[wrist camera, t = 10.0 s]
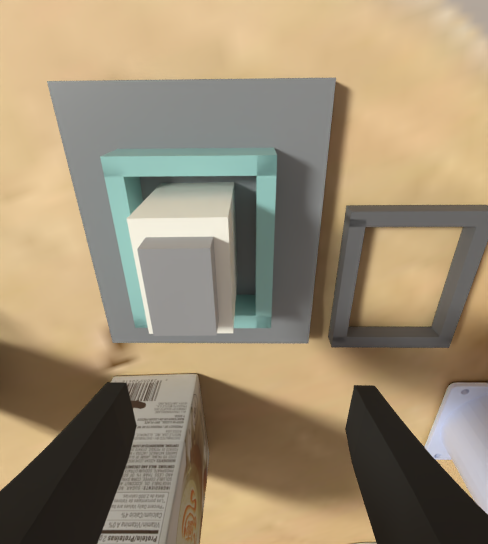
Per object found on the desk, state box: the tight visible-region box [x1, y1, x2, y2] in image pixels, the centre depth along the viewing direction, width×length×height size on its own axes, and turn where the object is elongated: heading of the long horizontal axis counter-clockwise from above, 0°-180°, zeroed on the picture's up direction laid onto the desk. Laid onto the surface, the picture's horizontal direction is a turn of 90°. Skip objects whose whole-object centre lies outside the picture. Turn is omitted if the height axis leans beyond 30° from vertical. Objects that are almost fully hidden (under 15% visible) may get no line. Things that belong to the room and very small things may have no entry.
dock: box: [47, 78, 336, 343], centre depth 17 cm, size 12×14×3 cm
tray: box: [328, 205, 488, 348], centre depth 19 cm, size 7×9×1 cm
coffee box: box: [97, 374, 209, 544], centre depth 18 cm, size 9×6×16 cm
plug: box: [127, 182, 237, 336], centre depth 14 cm, size 4×5×6 cm
